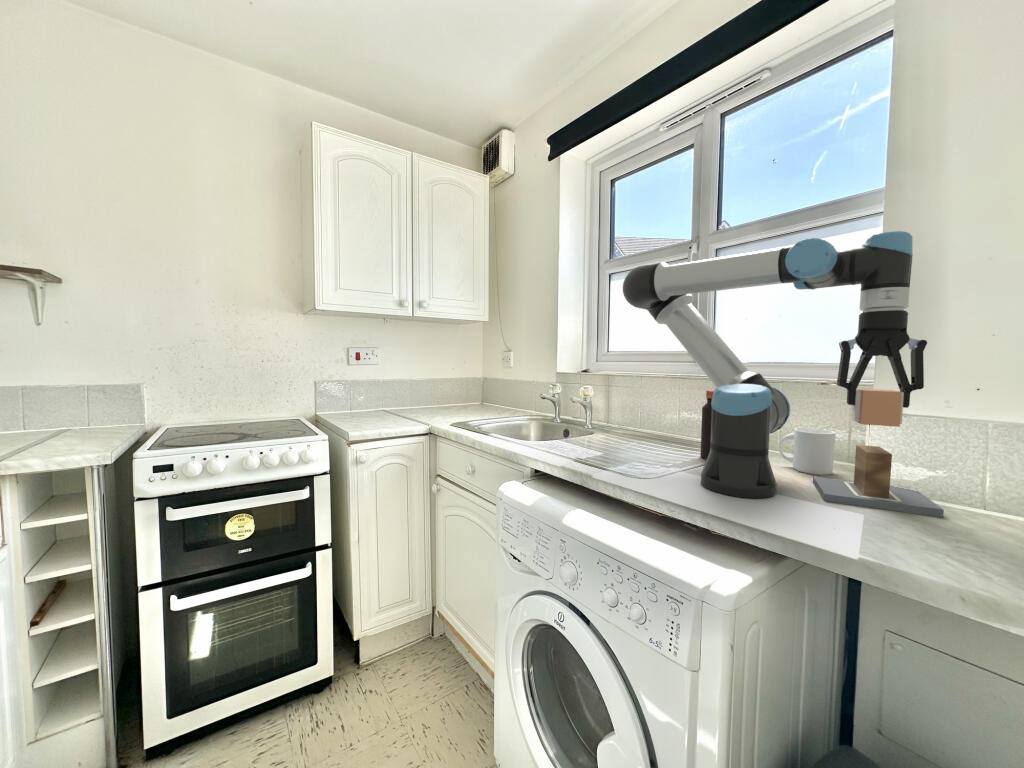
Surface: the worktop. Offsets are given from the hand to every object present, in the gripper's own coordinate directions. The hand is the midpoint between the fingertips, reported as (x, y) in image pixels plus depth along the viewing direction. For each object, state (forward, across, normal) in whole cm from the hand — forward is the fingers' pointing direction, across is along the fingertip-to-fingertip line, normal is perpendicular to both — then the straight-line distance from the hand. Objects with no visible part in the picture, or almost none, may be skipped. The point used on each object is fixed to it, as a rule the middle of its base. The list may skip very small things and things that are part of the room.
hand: (875, 421), depth 86 cm
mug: (+17, -9, +20) cm, 28 cm away
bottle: (+17, -31, +21) cm, 41 cm away
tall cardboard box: (+15, 0, 0) cm, 15 cm away
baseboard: (+16, 0, 0) cm, 16 cm away
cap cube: (0, 0, 0) cm, 0 cm away
